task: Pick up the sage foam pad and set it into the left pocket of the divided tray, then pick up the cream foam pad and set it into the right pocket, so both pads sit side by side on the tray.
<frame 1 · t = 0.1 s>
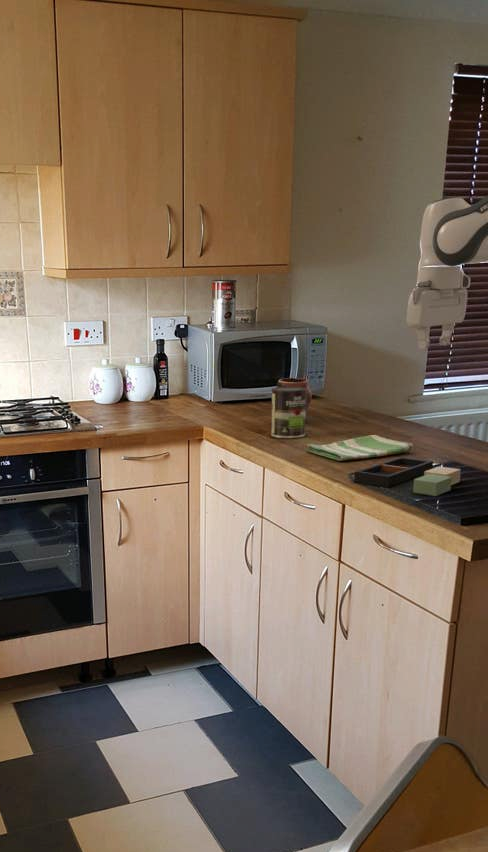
hand: (434, 347, 192), 31 cm above the countertop, tool pointing down, fingers open, 8 cm apart
decorative planter: (291, 423, 287), on the countertop
divided tray: (394, 476, 210), on the countertop
cream pad: (441, 483, 202), on the countertop
dish towel: (359, 453, 238), on the countertop
sage pad: (431, 491, 195), on the countertop
coffee can: (288, 436, 265), on the countertop
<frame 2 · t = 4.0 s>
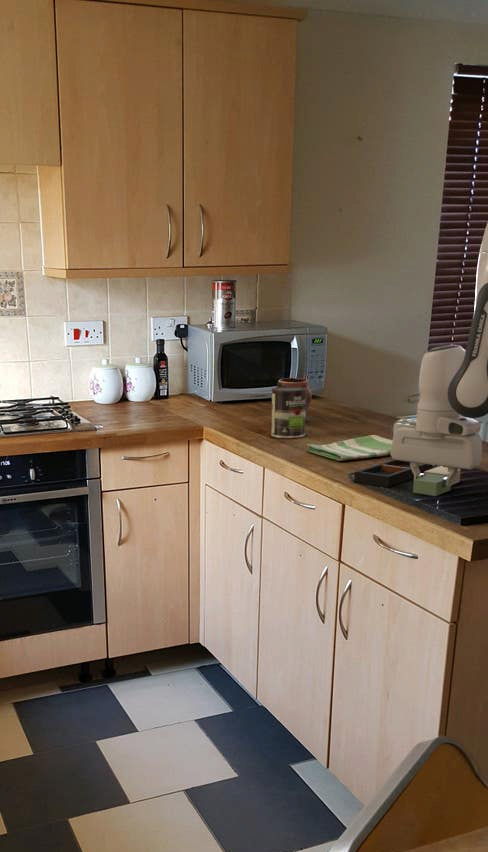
hand: (432, 484, 195), 2 cm above the countertop, tool pointing down, fingers closed on sage pad, 5 cm apart
sage pad: (431, 491, 195), on the countertop, touching gripper
everything else where it was.
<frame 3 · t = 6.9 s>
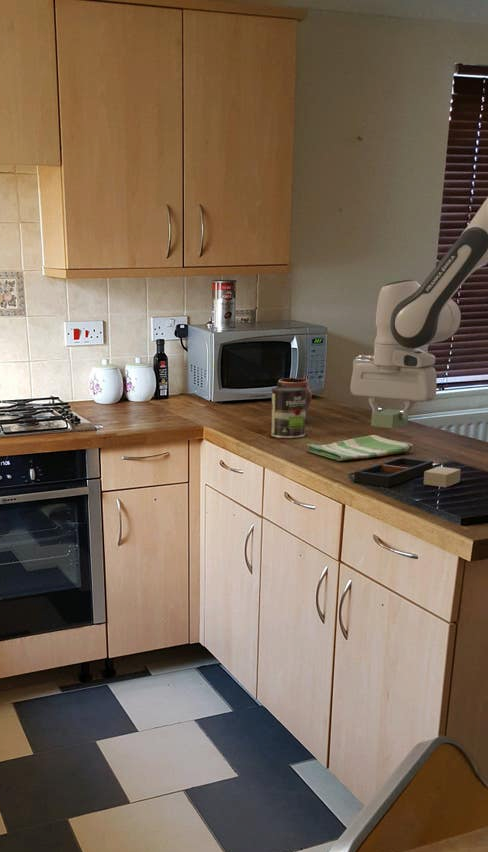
hand: (390, 417, 201), 15 cm above the countertop, tool pointing down, fingers closed on sage pad, 5 cm apart
sage pad: (389, 425, 202), point 13 cm above the countertop, touching gripper
everything else where it was.
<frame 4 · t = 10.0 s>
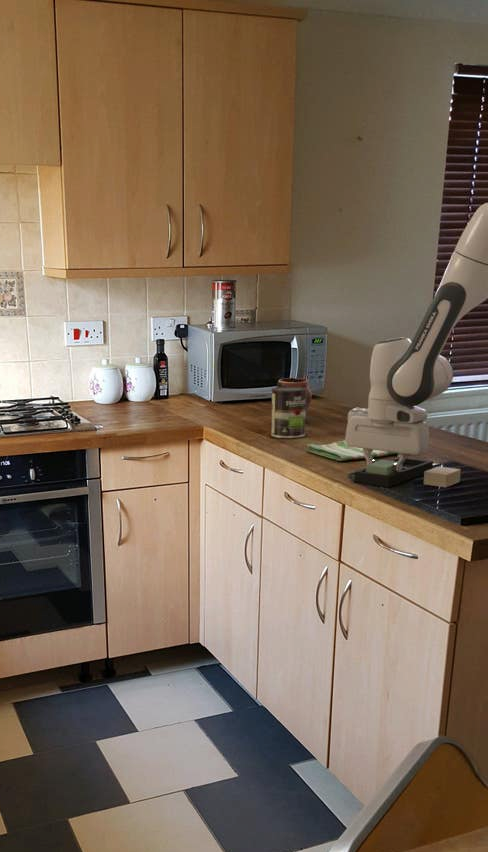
hand: (384, 469, 206), 3 cm above the countertop, tool pointing down, fingers closed on sage pad, 5 cm apart
sage pad: (383, 475, 206), point 1 cm above the countertop, touching divided tray, gripper
everything else where it was.
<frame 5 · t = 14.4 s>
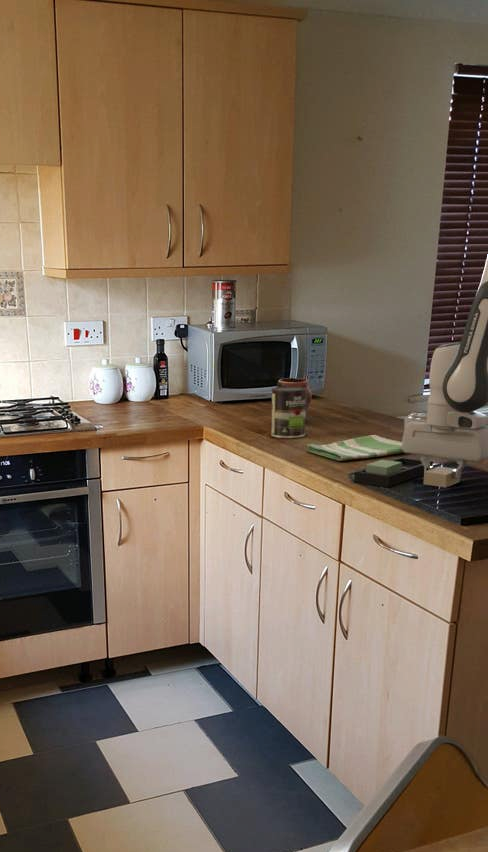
hand: (442, 476, 202), 2 cm above the countertop, tool pointing down, fingers closed on cream pad, 5 cm apart
cream pad: (441, 483, 202), on the countertop, touching gripper
sage pad: (383, 475, 206), point 1 cm above the countertop, touching divided tray
everything else where it was.
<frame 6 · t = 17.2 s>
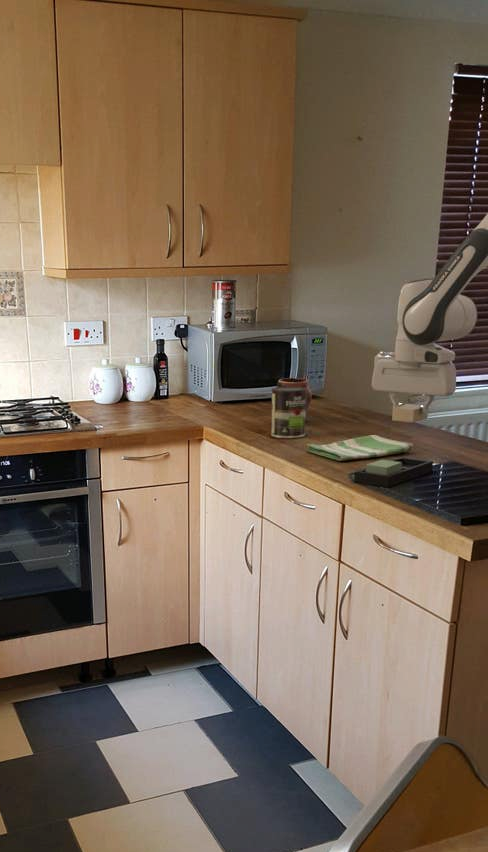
hand: (410, 412, 208), 15 cm above the countertop, tool pointing down, fingers closed on cream pad, 5 cm apart
cream pad: (409, 419, 208), point 13 cm above the countertop, touching gripper
everything else where it was.
when the fingers open (3 cm above the countertop, at t = 20.4 s): cream pad stays where it is, resting on divided tray.
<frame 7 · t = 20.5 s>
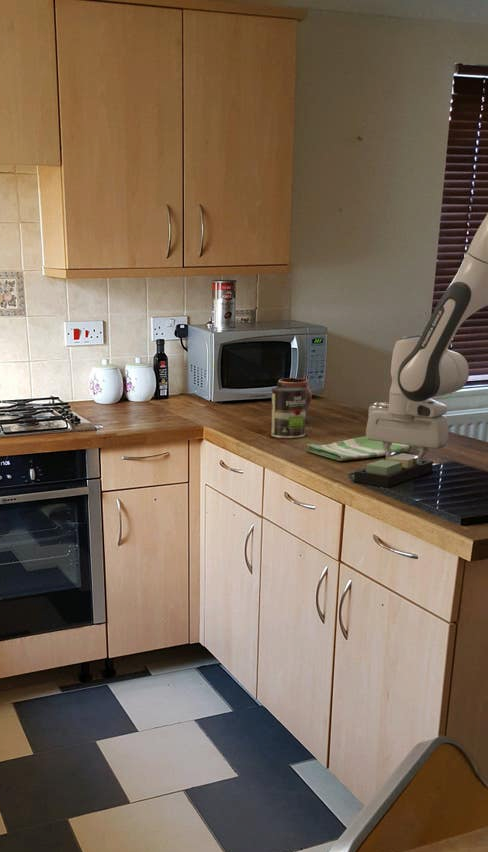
hand: (403, 462, 213), 3 cm above the countertop, tool pointing down, fingers open, 6 cm apart
cream pad: (403, 468, 213), point 1 cm above the countertop, touching divided tray
everything else where it was.
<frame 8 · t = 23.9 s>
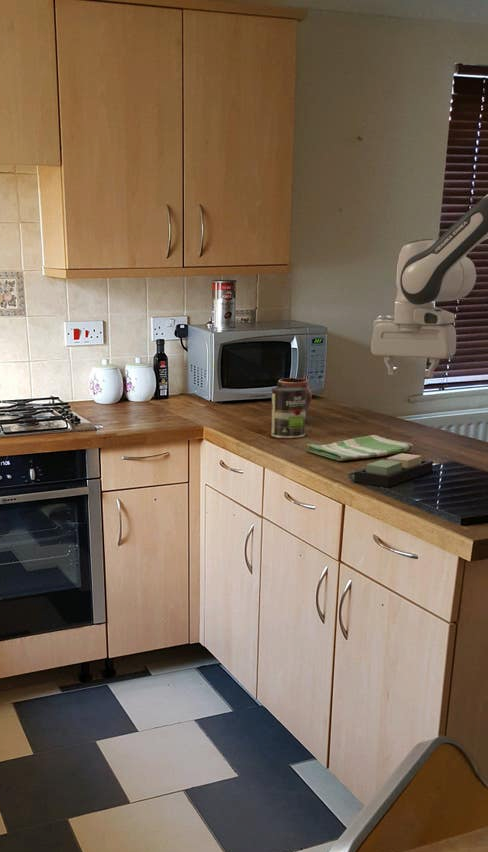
hand: (410, 376, 206), 23 cm above the countertop, tool pointing down, fingers open, 8 cm apart
nothing on the countertop moved.
at the end: sage pad 0.2 cm from the target spot on the divided tray, point 1.0 cm above the divided tray's base; cream pad 0.1 cm from the target spot on the divided tray, point 1.0 cm above the divided tray's base; cream pad tilted 0° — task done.
